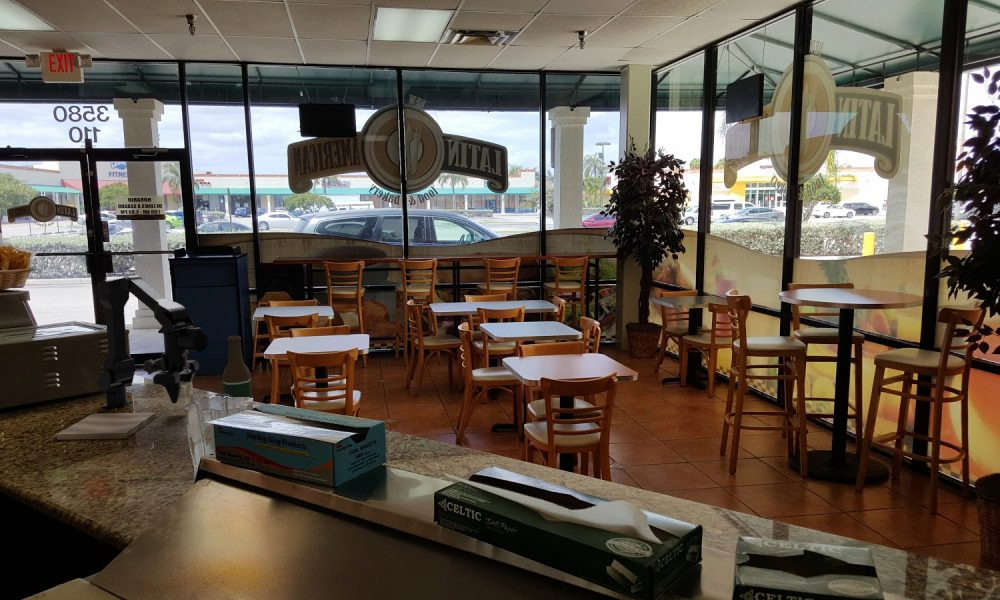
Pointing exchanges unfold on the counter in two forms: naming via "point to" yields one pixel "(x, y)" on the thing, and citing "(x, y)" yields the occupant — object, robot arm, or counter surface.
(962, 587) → the counter surface
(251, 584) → the counter surface
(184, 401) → the maple cube
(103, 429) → the wooden board
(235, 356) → the beer bottle
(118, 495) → the counter surface
